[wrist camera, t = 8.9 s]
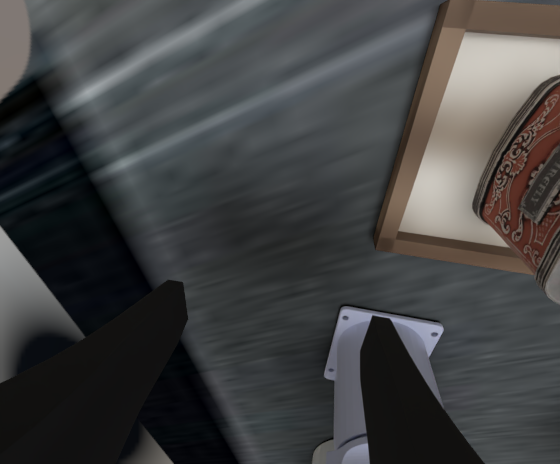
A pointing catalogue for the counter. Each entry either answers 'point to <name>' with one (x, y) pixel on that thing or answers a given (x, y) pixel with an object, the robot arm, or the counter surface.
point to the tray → (464, 128)
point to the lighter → (528, 186)
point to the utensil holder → (322, 452)
